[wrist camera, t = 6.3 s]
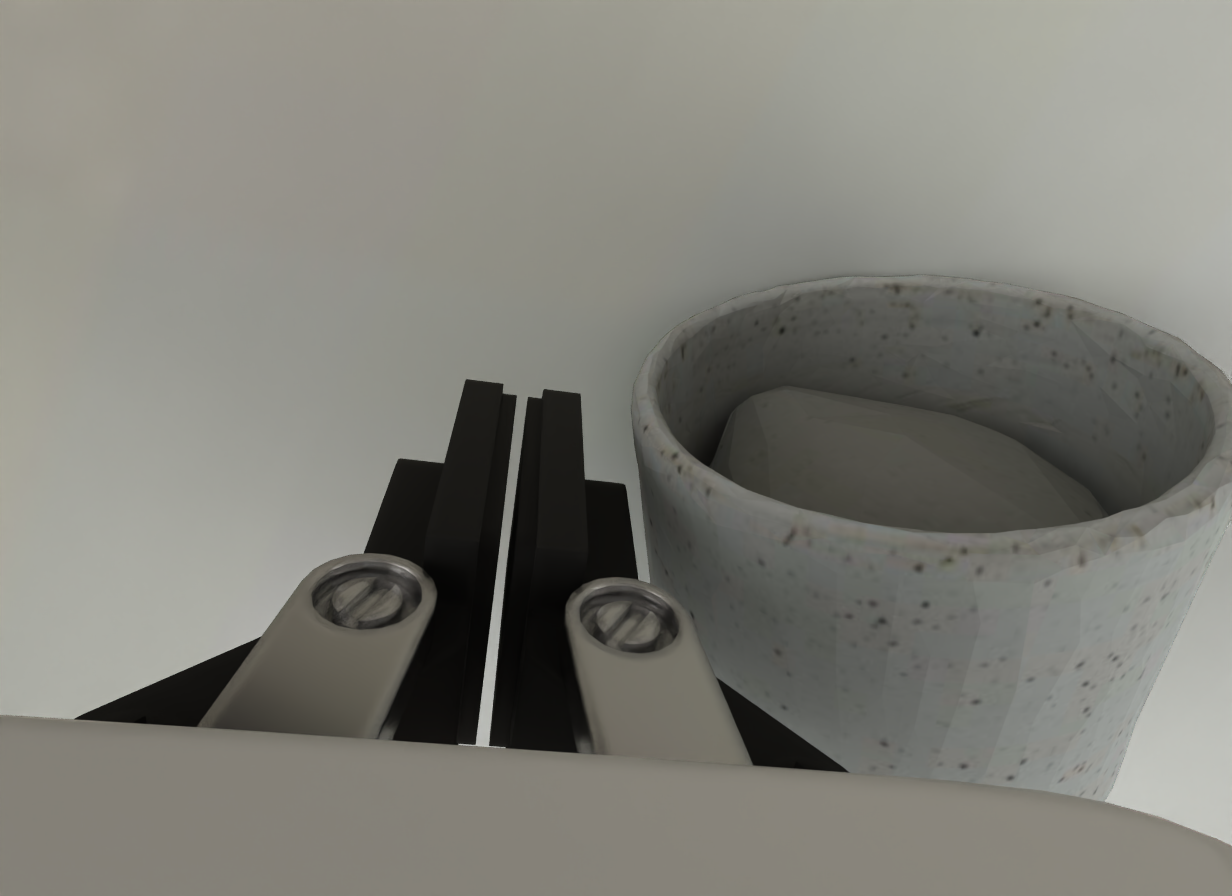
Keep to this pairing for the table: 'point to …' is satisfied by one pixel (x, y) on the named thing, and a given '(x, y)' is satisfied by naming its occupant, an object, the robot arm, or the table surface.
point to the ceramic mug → (935, 517)
